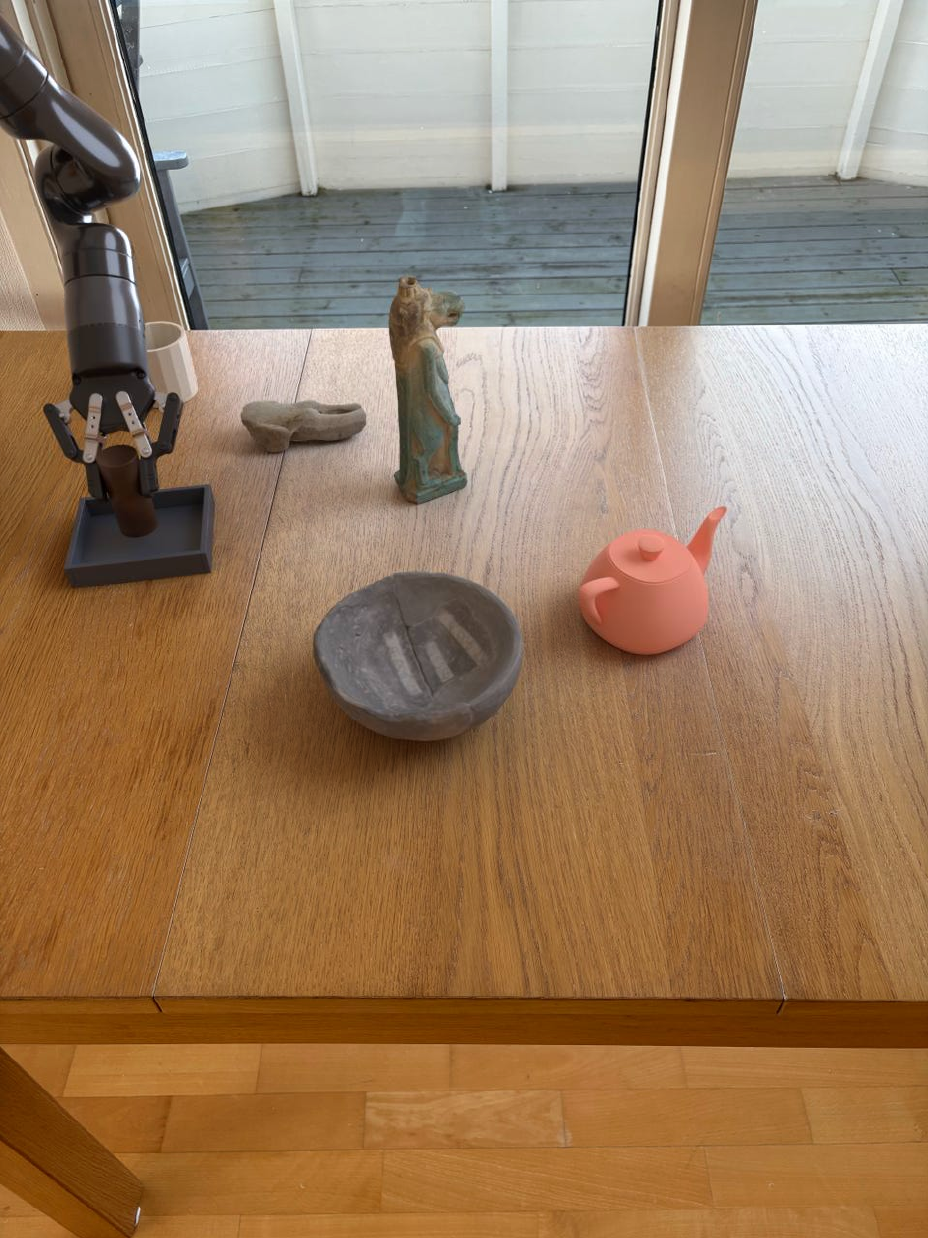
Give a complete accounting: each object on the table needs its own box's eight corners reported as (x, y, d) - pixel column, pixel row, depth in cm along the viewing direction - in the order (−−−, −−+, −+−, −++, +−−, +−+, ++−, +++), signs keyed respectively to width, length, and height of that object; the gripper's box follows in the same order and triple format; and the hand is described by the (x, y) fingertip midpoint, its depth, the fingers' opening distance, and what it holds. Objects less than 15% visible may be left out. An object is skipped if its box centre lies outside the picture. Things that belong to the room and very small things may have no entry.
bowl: (560, 723, 84) (564, 661, 78) (380, 809, 78) (371, 748, 72) (459, 604, 95) (457, 542, 89) (296, 670, 89) (282, 608, 83)
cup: (134, 410, 123) (116, 354, 117) (139, 379, 128) (123, 324, 123) (196, 404, 123) (182, 348, 118) (199, 373, 129) (186, 318, 123)
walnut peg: (118, 539, 100) (93, 468, 93) (122, 516, 102) (98, 446, 96) (157, 535, 100) (135, 464, 94) (159, 512, 103) (138, 442, 97)
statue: (479, 485, 109) (476, 275, 92) (419, 512, 106) (403, 299, 88) (446, 458, 113) (437, 251, 96) (386, 483, 110) (366, 274, 93)
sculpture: (363, 418, 121) (243, 423, 119) (362, 386, 118) (239, 390, 116) (368, 452, 117) (243, 458, 114) (368, 420, 113) (239, 425, 111)
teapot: (536, 615, 93) (540, 541, 87) (671, 546, 101) (683, 472, 94) (618, 690, 86) (629, 615, 80) (757, 610, 93) (777, 535, 87)
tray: (71, 588, 98) (63, 569, 96) (87, 516, 107) (80, 497, 105) (211, 572, 99) (205, 552, 97) (215, 502, 108) (210, 483, 106)
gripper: (20, 326, 92) (40, 501, 92) (169, 313, 94) (189, 486, 93) (46, 350, 100) (65, 512, 99) (184, 338, 101) (203, 497, 101)
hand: (125, 498), depth 96 cm, fingers closed on walnut peg, 4 cm apart
